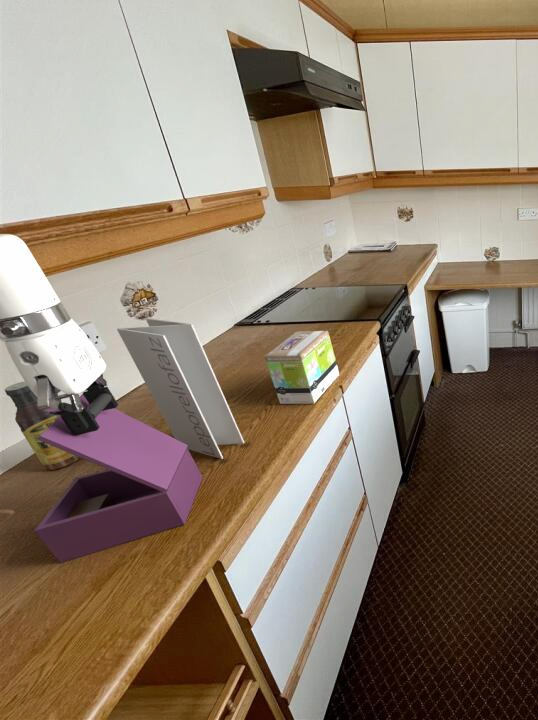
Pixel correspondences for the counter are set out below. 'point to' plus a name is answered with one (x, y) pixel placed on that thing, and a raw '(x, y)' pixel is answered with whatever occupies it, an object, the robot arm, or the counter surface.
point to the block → (92, 505)
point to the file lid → (120, 445)
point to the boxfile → (117, 511)
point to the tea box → (302, 367)
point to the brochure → (182, 384)
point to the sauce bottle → (37, 426)
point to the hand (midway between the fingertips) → (97, 419)
